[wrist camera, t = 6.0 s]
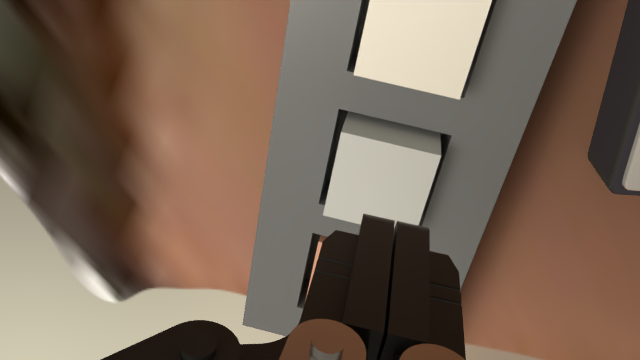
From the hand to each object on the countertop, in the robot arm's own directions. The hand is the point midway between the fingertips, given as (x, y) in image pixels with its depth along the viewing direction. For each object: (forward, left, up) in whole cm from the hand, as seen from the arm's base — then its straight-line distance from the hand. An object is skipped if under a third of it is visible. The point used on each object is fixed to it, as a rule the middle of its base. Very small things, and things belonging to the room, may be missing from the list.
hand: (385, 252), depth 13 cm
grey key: (0, +5, -14) cm, 15 cm away
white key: (0, -2, -14) cm, 14 cm away
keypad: (0, +5, -17) cm, 18 cm away
